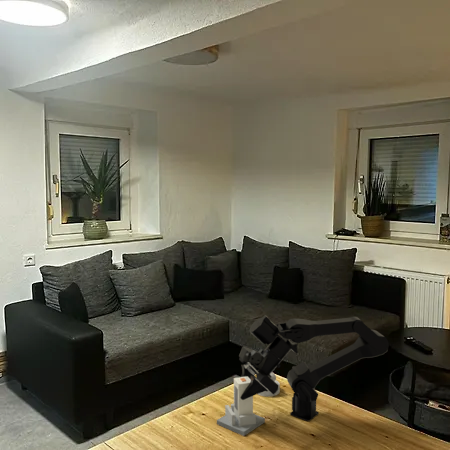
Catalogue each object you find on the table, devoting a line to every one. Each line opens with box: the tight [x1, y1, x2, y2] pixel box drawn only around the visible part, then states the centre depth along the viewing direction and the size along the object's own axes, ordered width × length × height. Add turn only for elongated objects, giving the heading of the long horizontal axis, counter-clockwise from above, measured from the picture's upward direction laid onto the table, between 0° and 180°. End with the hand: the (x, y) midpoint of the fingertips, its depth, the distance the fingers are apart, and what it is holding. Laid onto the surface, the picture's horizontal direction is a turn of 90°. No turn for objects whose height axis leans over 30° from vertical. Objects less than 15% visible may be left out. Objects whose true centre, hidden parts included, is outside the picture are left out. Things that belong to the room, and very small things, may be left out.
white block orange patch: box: [233, 376, 254, 421], centre depth 136 cm, size 5×4×11 cm
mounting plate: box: [216, 403, 266, 437], centre depth 135 cm, size 10×10×4 cm
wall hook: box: [257, 371, 281, 397], centre depth 157 cm, size 9×10×10 cm
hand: (238, 395), depth 135 cm, fingers closed on white block orange patch, 4 cm apart
